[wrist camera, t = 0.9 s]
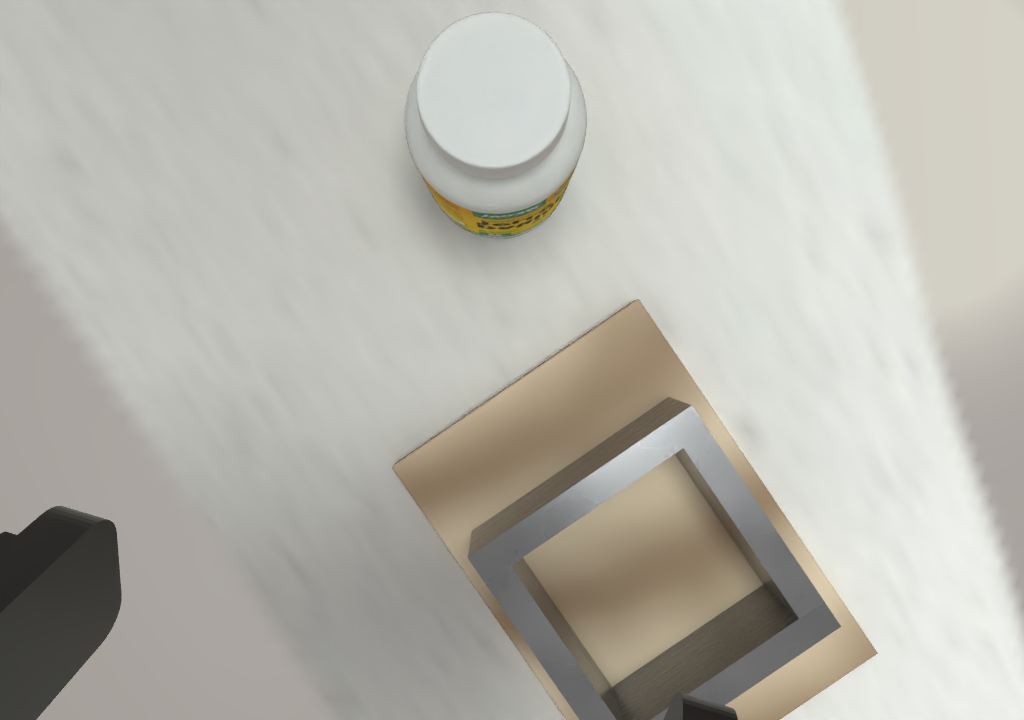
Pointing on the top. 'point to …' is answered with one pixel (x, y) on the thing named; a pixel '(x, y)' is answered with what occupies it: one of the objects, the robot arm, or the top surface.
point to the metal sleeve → (705, 652)
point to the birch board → (618, 515)
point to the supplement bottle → (495, 123)
